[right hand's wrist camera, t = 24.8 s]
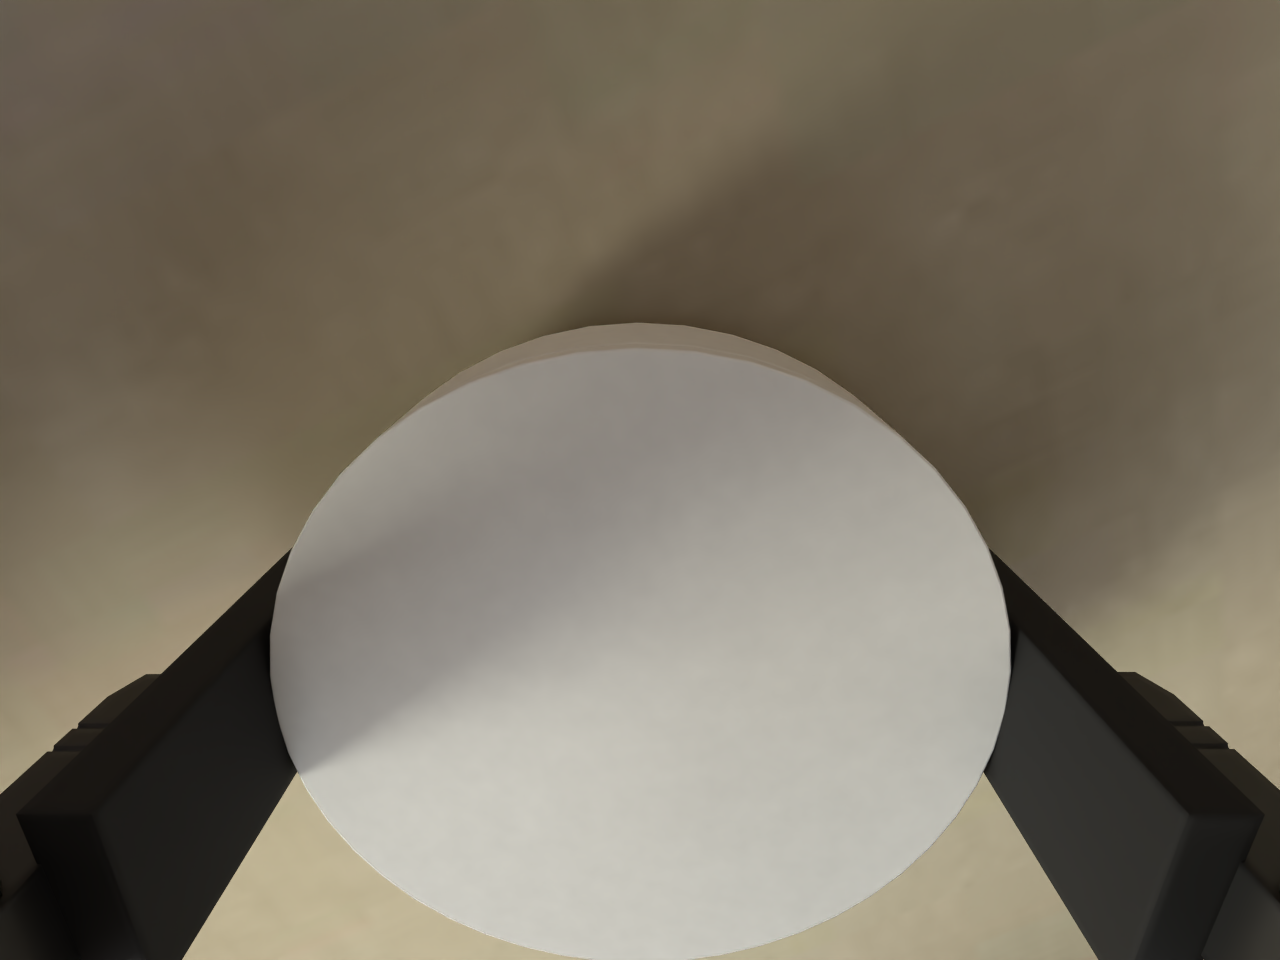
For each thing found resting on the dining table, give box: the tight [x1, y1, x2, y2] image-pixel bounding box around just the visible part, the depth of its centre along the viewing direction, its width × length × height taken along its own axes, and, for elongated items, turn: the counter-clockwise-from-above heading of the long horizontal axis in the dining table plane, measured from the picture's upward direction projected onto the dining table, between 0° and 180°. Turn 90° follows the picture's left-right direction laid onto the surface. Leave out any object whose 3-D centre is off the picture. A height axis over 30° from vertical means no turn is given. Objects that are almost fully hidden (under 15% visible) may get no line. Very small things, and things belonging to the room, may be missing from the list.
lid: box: [270, 323, 1011, 960], centre depth 11 cm, size 11×11×2 cm
